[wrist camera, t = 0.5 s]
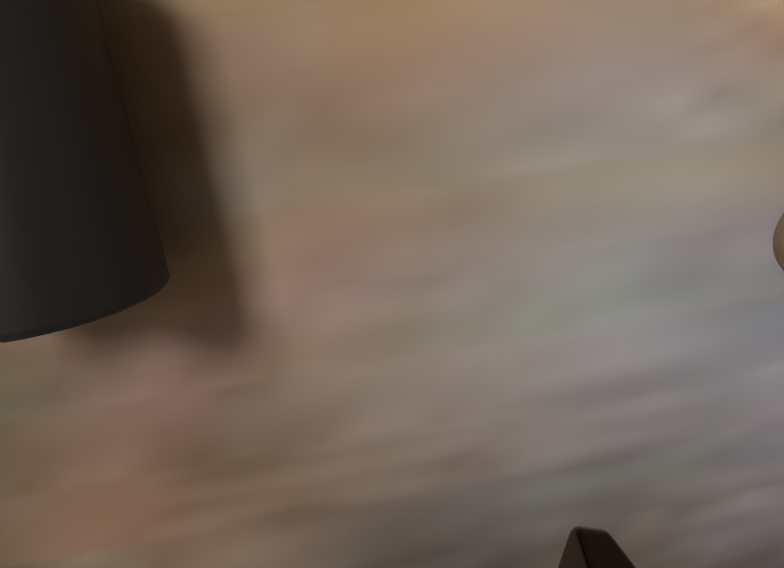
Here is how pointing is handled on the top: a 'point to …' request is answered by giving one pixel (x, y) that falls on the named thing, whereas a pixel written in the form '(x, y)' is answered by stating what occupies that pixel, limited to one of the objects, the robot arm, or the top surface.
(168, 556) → the top surface
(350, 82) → the top surface
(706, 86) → the top surface
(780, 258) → the slotted cylinder
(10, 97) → the end cap
